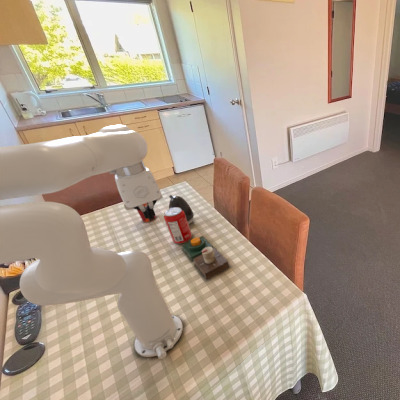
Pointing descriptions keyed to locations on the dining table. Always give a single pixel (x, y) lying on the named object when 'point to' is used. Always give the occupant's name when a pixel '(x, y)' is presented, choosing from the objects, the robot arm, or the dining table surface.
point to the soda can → (177, 225)
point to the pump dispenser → (182, 207)
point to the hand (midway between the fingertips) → (151, 218)
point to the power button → (195, 241)
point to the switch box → (196, 248)
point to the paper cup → (143, 214)
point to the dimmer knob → (208, 255)
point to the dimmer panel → (211, 265)
